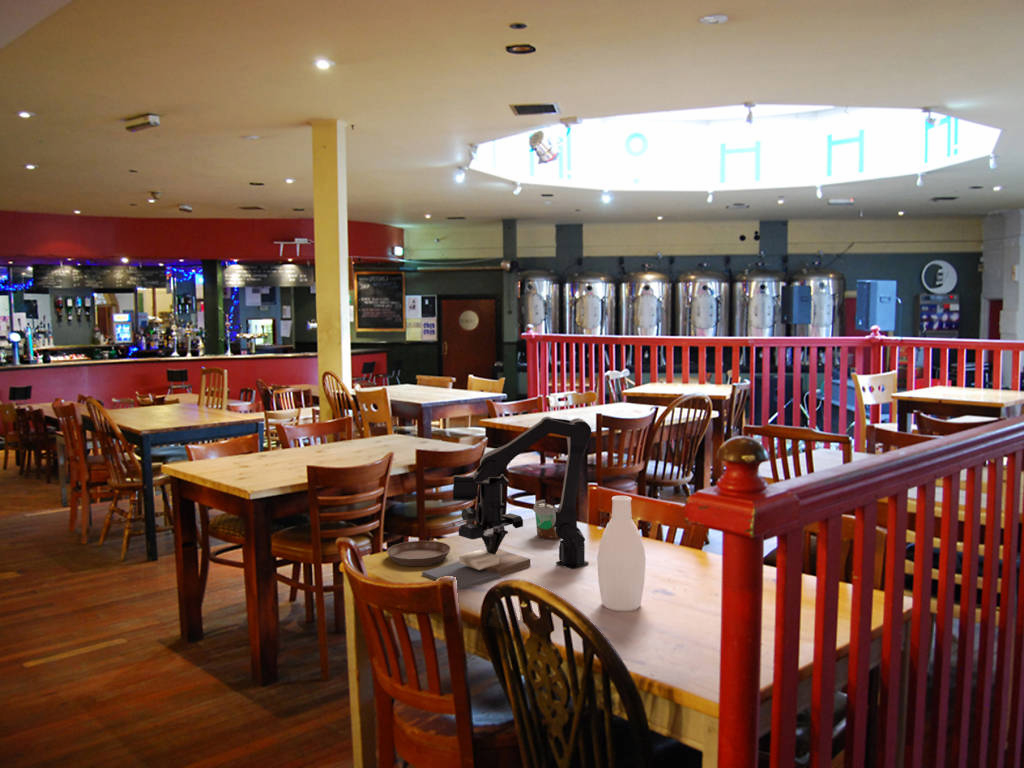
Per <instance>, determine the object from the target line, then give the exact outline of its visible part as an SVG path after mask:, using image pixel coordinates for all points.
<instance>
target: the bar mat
mask: <svg viewBox="0 0 1024 768" xmlns="http://www.w3.org/2000/svg"><path fill="white" fill-rule="evenodd" d="M421 573H422V576H424V577H426V578H429V579H431V580H434V581H437V580H436V579H438V578H440V577H444V576H453V577H456V580H457V587H458V588H457V589H458V590H460V591H463V590H466V589H468V588H473V587H475V585H476V586H478V585H481V584H484V583H488V582H490V581H494V580H497V579H500V578H501V576H500V574H497V573H494V572H491V571H488V570H485V569H481V570H478V569H475V568H472V567H469V566H467V565H464V564H461V563H460V560H459V561H455V562H452V563H449V564H446V565H442V566H438V567H434V568H432V569H428V570H425V571H424V570H423V571H421ZM472 586H473V587H472ZM465 588H466V589H465Z"/></svg>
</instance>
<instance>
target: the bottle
mask: <svg viewBox="0 0 1024 768" xmlns="http://www.w3.org/2000/svg"><path fill="white" fill-rule="evenodd" d="M632 499H633V498H632V497H631V496H628V495H614V496H612V497H611V501H612V503H611V504H612V506H611V507H612V508H611V519H609V522H608V523H607V525H606V527H605V529H604V530H603V533H602V536H601V539H600V542H599V545H598V552H597V577H598V579H597V581H598V587H599V593H600V601H601V603H602V605H603V607H604V606H605V607H604V608H606V609H607V608H608V609H607V610H610V611H614V610H615V611H616V612H631V611H635V610H637V609H638V608H639V607H641V605H642V599H643V593H644V588H645V587H644V586H645V579H646V559H647V558H646V553H645V552H646V551H645V545H644V542H643V538H642V535H641V533H640V530H639V529H638V527H637V526H636V523H635V522H634V520H633V516H632V502H631V501H632Z"/></svg>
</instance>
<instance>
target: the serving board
mask: <svg viewBox="0 0 1024 768" xmlns="http://www.w3.org/2000/svg"><path fill="white" fill-rule="evenodd" d="M484 551H485V552H487V550H484ZM495 555H497V556H499V564H496V565H493V566H490V567H487V568H484V569H485V570H488V571H491V572H494V573H497V574H500V577H501V576H504V575H507V574H510V573H513V572H517V571H521V570H523V569H526V568H529V566H530V567H531V558H530V557H529V558H528V557H525V556H522V555H518V554H515V553H512V552H508V551H506V550H502V549H499V548H498V550H497V552H496V554H495Z"/></svg>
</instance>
